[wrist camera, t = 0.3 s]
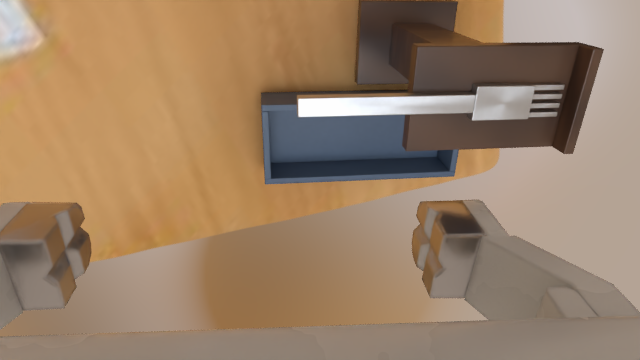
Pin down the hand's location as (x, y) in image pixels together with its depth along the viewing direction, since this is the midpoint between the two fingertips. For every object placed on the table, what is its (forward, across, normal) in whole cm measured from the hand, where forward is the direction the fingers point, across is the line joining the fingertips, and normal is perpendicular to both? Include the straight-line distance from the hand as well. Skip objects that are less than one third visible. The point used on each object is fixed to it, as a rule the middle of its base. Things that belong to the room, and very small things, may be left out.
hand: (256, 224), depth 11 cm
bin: (+47, -12, +17) cm, 51 cm away
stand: (+48, -17, +5) cm, 51 cm away
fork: (+22, -12, +4) cm, 25 cm away
